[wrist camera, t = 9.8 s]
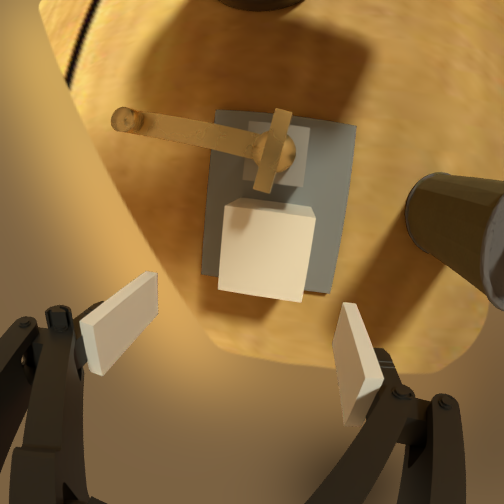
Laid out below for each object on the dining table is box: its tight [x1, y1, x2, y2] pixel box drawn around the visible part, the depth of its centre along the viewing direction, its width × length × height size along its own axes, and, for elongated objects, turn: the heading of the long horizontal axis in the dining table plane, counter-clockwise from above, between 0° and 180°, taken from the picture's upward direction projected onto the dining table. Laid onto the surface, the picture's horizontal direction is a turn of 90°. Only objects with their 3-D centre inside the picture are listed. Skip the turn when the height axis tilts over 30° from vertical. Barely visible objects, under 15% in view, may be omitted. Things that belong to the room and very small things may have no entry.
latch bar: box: [111, 107, 296, 194], centre depth 21 cm, size 15×6×4 cm, turn 75°
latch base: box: [201, 110, 356, 294], centre depth 30 cm, size 20×16×10 cm
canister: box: [405, 172, 504, 311], centre depth 22 cm, size 11×10×20 cm
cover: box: [218, 198, 316, 302], centre depth 31 cm, size 8×8×8 cm
